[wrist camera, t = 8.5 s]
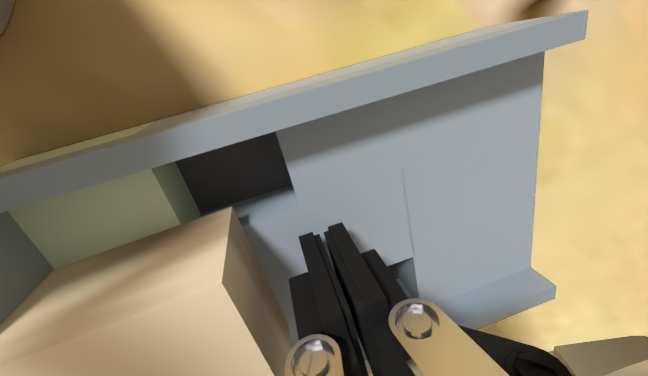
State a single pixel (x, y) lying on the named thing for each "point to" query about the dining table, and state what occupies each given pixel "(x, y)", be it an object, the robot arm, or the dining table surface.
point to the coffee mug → (5, 13)
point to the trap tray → (324, 175)
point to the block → (154, 310)
